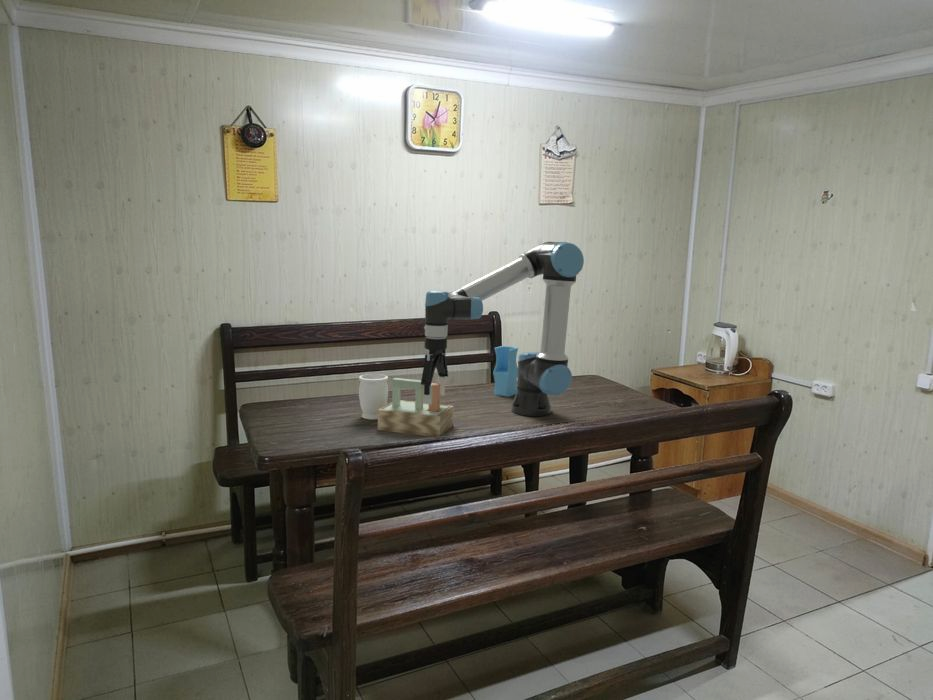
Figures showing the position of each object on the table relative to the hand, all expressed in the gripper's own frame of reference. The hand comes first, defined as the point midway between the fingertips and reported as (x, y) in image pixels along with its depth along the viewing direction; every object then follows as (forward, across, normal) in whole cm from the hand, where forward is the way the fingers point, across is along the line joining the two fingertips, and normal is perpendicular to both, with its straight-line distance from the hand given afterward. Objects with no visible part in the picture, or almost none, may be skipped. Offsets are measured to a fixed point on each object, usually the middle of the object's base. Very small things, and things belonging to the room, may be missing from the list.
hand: (434, 399), depth 214 cm
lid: (+5, 0, -6) cm, 8 cm away
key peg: (+10, 0, 0) cm, 10 cm away
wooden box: (+11, 0, -6) cm, 12 cm away
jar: (+11, -6, -26) cm, 28 cm away
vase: (+11, -60, +10) cm, 62 cm away
